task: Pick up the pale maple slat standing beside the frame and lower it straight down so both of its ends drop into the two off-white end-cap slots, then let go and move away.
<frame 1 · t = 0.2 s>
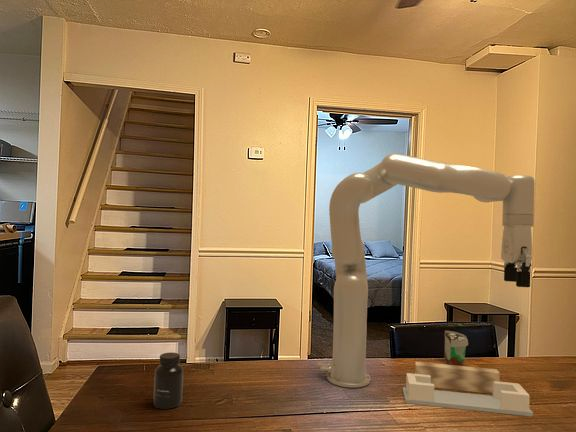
hand: (516, 284, 114), 30 cm above the table, tool pointing down, fingers open, 9 cm apart
food container: (457, 367, 135), on the table
supplement bottle: (167, 404, 103), on the table
frame: (463, 402, 109), on the table
slat: (455, 388, 118), on the table
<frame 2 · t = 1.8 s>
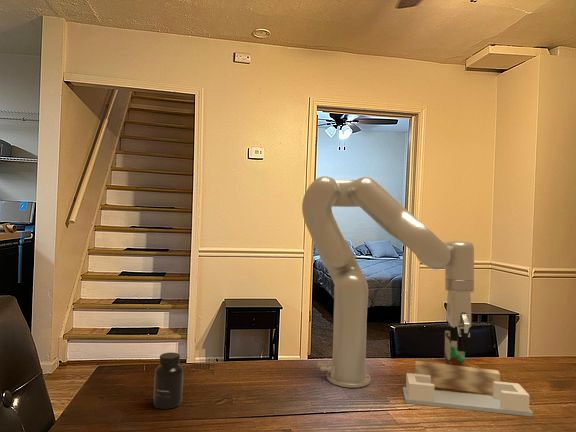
hand: (459, 345, 118), 12 cm above the table, tool pointing down, fingers open, 9 cm apart
nothing on the table moved.
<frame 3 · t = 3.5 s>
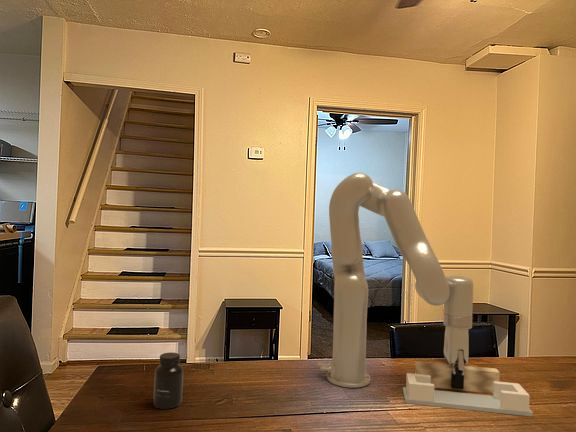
hand: (455, 385, 118), 1 cm above the table, tool pointing down, fingers closed on slat, 3 cm apart
slat: (455, 388, 118), on the table, touching gripper
everything else where it was.
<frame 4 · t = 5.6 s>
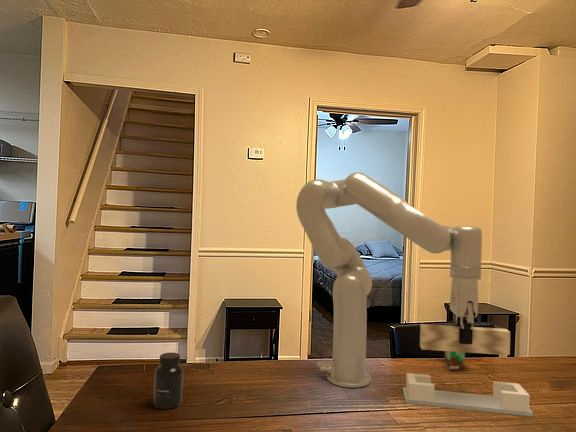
hand: (463, 341, 111), 15 cm above the table, tool pointing down, fingers closed on slat, 3 cm apart
slat: (463, 350, 111), point 13 cm above the table, touching gripper
everything else where it was.
when the fingers open (4 cm above the table, at t = 7.8 s): slat stays where it is, resting on frame.
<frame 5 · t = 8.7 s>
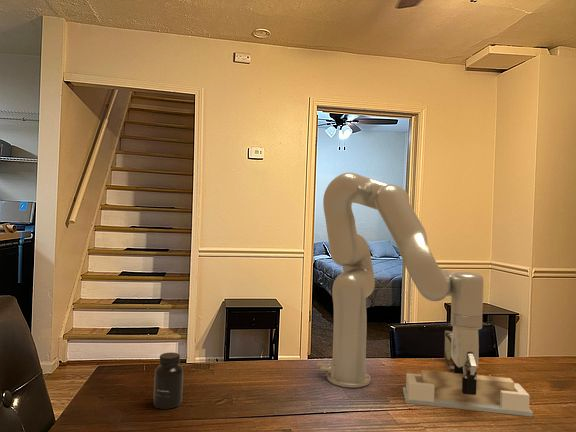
hand: (464, 386, 109), 4 cm above the table, tool pointing down, fingers open, 9 cm apart
slat: (465, 399, 108), point 1 cm above the table, touching frame
everything else where it was.
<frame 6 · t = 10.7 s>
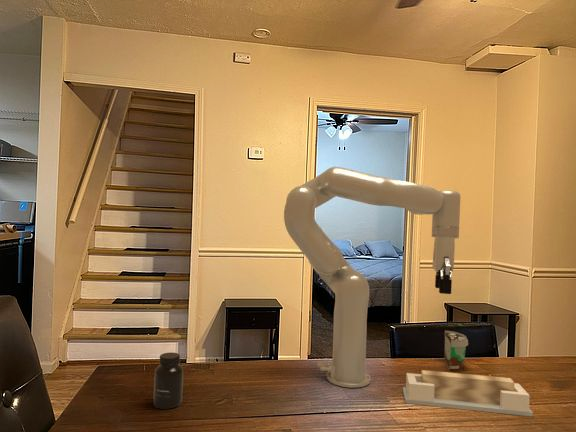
hand: (442, 290, 123), 26 cm above the table, tool pointing down, fingers open, 9 cm apart
nothing on the table moved.
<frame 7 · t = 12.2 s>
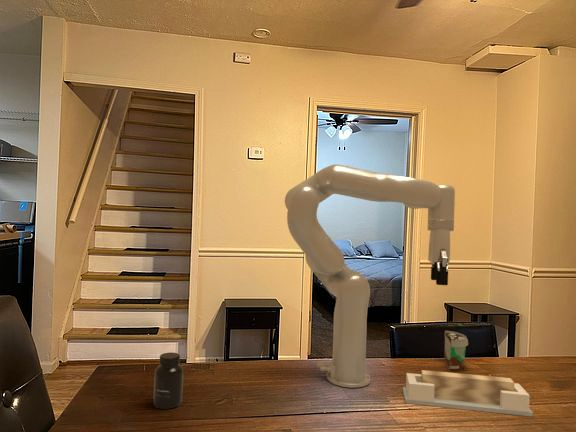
hand: (438, 282, 127), 28 cm above the table, tool pointing down, fingers open, 9 cm apart
nothing on the table moved.
at the end: slat 0.4 cm off-centre on the frame, point 1.0 cm above the frame's base; slat tilted 0°; the gripper is holding nothing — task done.
